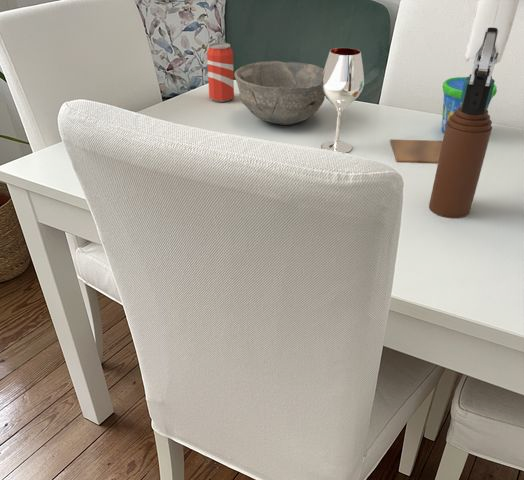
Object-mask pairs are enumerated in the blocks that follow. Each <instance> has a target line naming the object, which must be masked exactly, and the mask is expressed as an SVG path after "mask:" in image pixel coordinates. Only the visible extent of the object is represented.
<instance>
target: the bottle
mask: <svg viewBox="0 0 524 480" xmlns="http://www.w3.org/2000/svg"><path fill="white" fill-rule="evenodd" d="M462 106H463V104H462V105H461V106H460V107H458V109H457V111H455V112H454V113H453V115H452V116H450V117H449V121H447V123H446V128H445V133H444V132H443V137H442V141H443V142H442V147H441V152H440V156H439V161H438V163H437V167H436V171H435V176H434V181H433V185H432V189H431V194H430V199H429V203H428V208H429V210H430V211H431V212H432V213H434V214H435V215H437V216H440V217H444V218H448V219H449V218H450V219H459V218H460V219H461V218H464V217H467V216H469V214H470V213H471V209H472V206H473V202H474V198H475V195H476V190H477V187H478V185H479V184H478V183H479V179H480V176H481V171H482V169H483V165H484V161H485V156H486V152H487V149H488V147H489V146H488V145H489V142H490V138H491V135H492V131H493V126H492V124H493V121H492V119H491V116H490V114H489V110H488V109H486V107H485V111H484V114H482V115H477V114H468V113H462Z"/></svg>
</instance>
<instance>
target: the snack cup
mask: <svg viewBox="0 0 524 480" xmlns="http://www.w3.org/2000/svg"><path fill="white" fill-rule="evenodd" d="M466 77H467V76H456V77H450V78H447V79H446V80H444V82H443V83H442V92H443V98H442V99H443V100H442V101H443V102H442V115H441V116H442V118H441V132H442V133H443V134H444V133H445V128H446V123H447V121H449V117H450V116H452V115H453V113H454V112H455V111H457V109H458V107H460V106H461V105H462V103H461V95H462V91H463V86H464V83H465V79H466ZM497 92H498V90H497V85H496V84H495V83H494V87H493V91H492V95H491V99H490V102H489V105H490V103H491V101H492V99H493V97H494V96H496V95H497ZM489 105H487V106H486V109H487V110H488V109H489Z"/></svg>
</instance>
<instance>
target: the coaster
mask: <svg viewBox="0 0 524 480" xmlns="http://www.w3.org/2000/svg"><path fill="white" fill-rule="evenodd" d="M389 142H390V146H391V149H392V152H393V155H394V159H395V161H396V163H423V164H438V161H439V156H440V152H441V147H442V142H443V140H429V139H428V140H427V139H426V140H424V139H389Z"/></svg>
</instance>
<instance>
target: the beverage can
mask: <svg viewBox="0 0 524 480" xmlns="http://www.w3.org/2000/svg"><path fill="white" fill-rule="evenodd" d="M206 60H207V80H208V81H207V82H208V97H209V99H211V100H212V101H214V102H218V103H225V102H229V101H231V100H232V99H234V98H235V84H234V83H235V80H234V79H235V76H234V52H233V50H232V48H231V44H230V43H228V42H213V43H209V44H208V49H207V50H206Z"/></svg>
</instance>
